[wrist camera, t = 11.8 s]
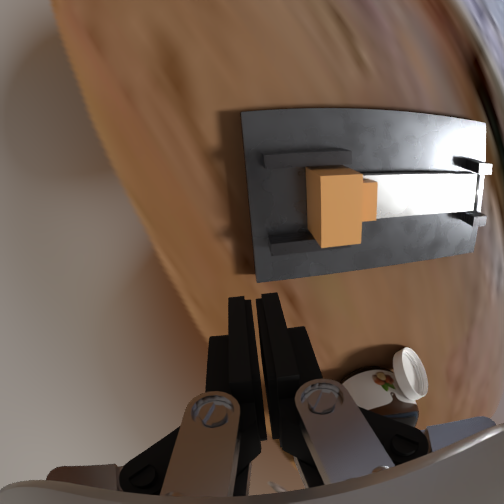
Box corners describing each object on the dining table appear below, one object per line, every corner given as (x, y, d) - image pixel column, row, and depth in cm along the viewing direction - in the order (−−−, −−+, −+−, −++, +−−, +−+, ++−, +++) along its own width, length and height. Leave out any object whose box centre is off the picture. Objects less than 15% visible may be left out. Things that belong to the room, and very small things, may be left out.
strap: (472, 207, 25) (478, 210, 24) (349, 217, 24) (354, 221, 23) (475, 172, 23) (482, 175, 23) (350, 174, 23) (355, 176, 22)
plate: (465, 246, 29) (484, 259, 25) (255, 274, 28) (259, 295, 25) (476, 121, 23) (499, 125, 20) (240, 112, 22) (242, 111, 19)
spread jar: (317, 403, 37) (338, 476, 26) (350, 340, 32) (389, 420, 22) (389, 399, 38) (418, 460, 28) (426, 342, 34) (470, 404, 23)
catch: (364, 222, 25) (385, 240, 21) (307, 228, 25) (321, 248, 21) (365, 164, 23) (388, 173, 19) (305, 166, 23) (320, 176, 19)
